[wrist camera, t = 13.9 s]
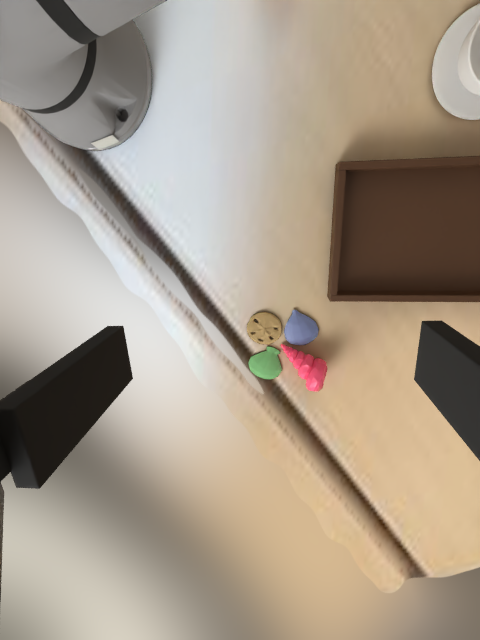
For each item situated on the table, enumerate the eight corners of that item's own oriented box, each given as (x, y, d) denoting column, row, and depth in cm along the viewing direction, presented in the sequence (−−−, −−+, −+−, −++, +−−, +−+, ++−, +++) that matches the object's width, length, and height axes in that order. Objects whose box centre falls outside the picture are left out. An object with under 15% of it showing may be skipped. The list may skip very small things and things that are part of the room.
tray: (335, 164, 37) (339, 161, 35) (563, 155, 34) (582, 151, 32) (327, 296, 42) (330, 301, 40) (525, 297, 39) (539, 302, 37)
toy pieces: (341, 321, 43) (348, 333, 39) (314, 391, 46) (318, 409, 42) (254, 298, 43) (252, 307, 39) (234, 369, 47) (230, 385, 43)
